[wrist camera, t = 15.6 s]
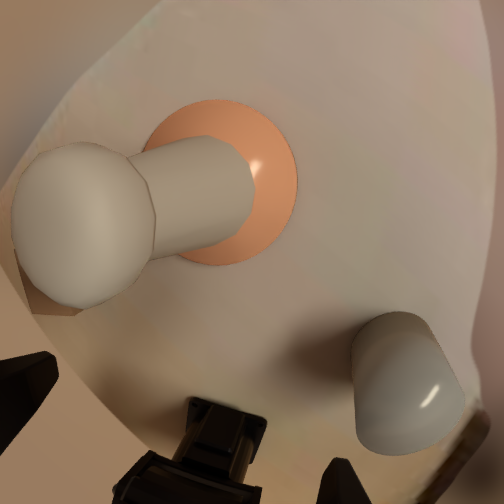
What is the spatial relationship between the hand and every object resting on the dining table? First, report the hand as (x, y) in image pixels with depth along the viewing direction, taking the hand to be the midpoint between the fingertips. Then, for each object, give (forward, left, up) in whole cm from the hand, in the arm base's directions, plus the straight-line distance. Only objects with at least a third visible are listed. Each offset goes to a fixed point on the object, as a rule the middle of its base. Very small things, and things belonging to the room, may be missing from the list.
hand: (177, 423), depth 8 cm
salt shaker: (+5, +4, -12) cm, 14 cm away
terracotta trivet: (+5, +4, -13) cm, 14 cm away
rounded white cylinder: (-3, -10, -13) cm, 17 cm away
